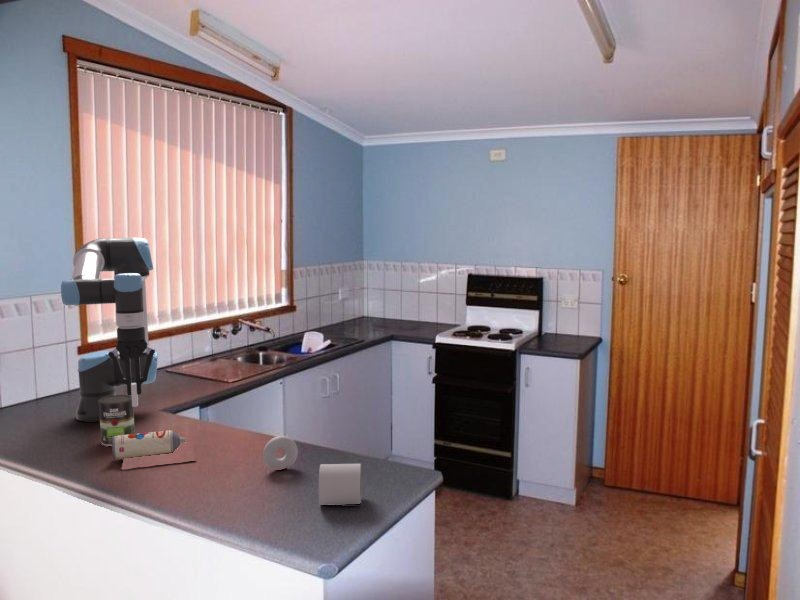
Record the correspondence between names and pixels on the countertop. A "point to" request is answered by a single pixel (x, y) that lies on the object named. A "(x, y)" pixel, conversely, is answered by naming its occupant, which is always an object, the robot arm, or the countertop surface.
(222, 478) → the countertop surface
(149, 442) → the aerosol can
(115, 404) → the coffee can
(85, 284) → the robot arm
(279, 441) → the donut
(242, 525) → the countertop surface
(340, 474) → the toilet paper
